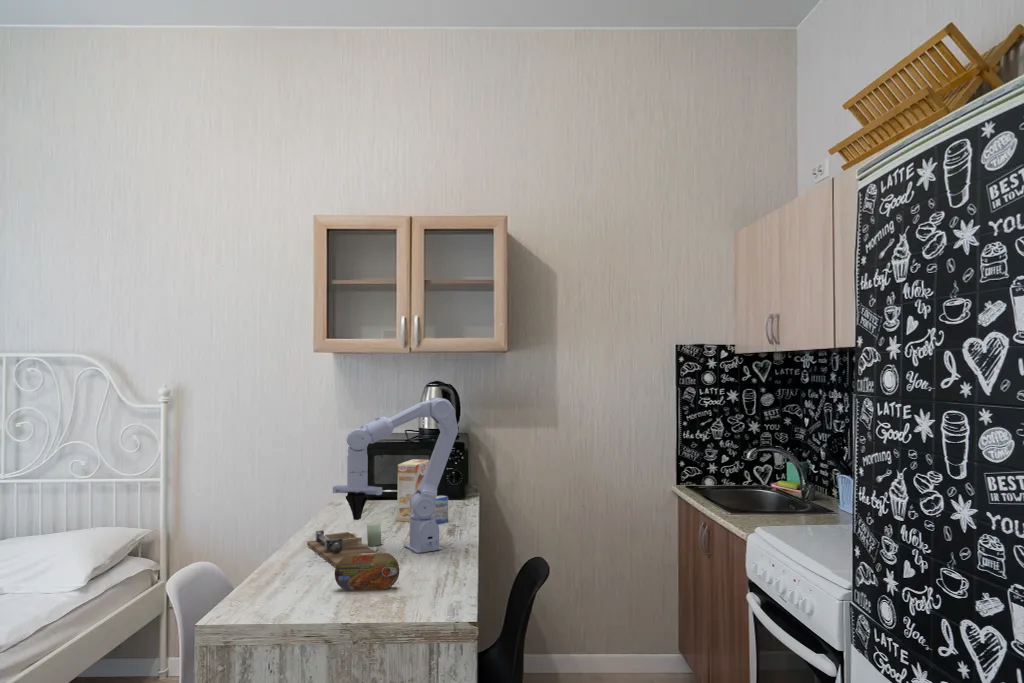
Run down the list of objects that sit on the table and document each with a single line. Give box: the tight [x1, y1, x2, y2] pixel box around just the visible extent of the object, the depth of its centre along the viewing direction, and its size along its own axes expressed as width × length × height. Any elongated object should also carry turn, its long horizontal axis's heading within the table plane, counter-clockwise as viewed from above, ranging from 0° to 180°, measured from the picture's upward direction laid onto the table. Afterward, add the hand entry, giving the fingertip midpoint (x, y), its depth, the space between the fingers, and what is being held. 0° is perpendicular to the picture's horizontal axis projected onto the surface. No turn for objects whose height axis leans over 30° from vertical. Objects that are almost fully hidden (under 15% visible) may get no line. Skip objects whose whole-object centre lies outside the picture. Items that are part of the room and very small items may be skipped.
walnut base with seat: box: [306, 530, 378, 568], centre depth 197 cm, size 29×13×3 cm, turn 32°
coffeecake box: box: [396, 458, 430, 523], centre depth 246 cm, size 15×7×20 cm, turn 168°
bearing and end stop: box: [315, 529, 342, 553], centre depth 200 cm, size 14×4×3 cm, turn 32°
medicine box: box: [434, 495, 449, 525], centre depth 237 cm, size 8×4×9 cm, turn 143°
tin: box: [334, 552, 400, 592], centre depth 166 cm, size 15×3×8 cm, turn 98°
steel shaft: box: [318, 534, 342, 553], centre depth 198 cm, size 16×3×3 cm, turn 32°
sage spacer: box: [366, 521, 382, 547], centre depth 207 cm, size 4×4×6 cm
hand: (357, 519), depth 199 cm, fingers closed
